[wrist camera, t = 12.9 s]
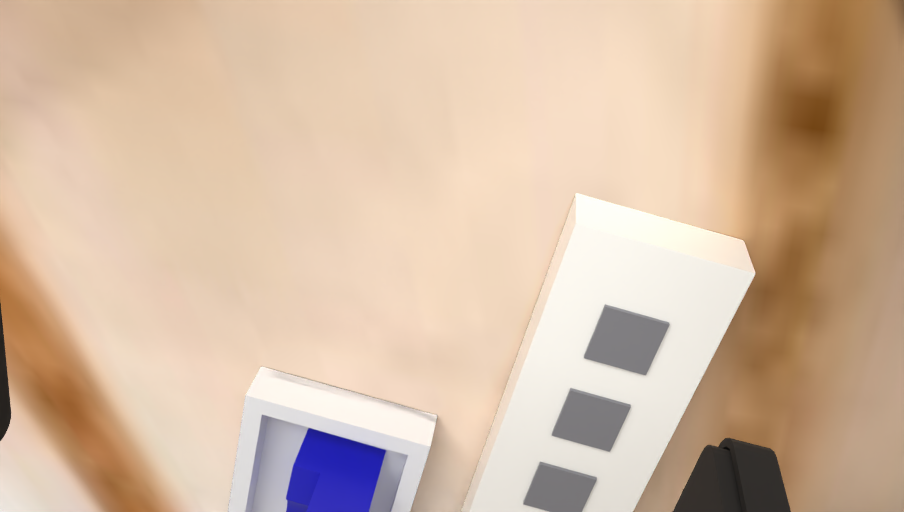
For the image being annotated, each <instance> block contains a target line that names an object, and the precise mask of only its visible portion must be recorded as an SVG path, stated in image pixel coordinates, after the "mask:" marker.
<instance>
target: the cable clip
mask: <svg viewBox="0 0 904 512" xmlns="http://www.w3.org/2000/svg"><path fill="white" fill-rule="evenodd" d="M385 452H386V450H384V449H381V448H377V447H374V446H370V445H367V444H363V443H360V442H356V441H353V440H349V439H346V438H343V437H339V436H336V435H332V434H329V433H325V432H322V431H318V430H315V429H311V428H308V430H307V433H306V435H305V438H304V440H303V443H302V445H301V447H300V450H299V452H298V455H297V457H296V460H295V462H294V465H293V468H292V473H291V477H290V482H289V486H288V491H287V495H286V500H287V509H286V512H369V509H370V506H371V502H372V499H373V495H374V491H375V488H376V484H377V481H378V477H379V474H380V470H381V467H382V463H383V460H384V456H385Z"/></svg>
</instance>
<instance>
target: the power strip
mask: <svg viewBox="0 0 904 512" xmlns="http://www.w3.org/2000/svg"><path fill="white" fill-rule="evenodd" d="M755 274H756V273H755V271H754V268H753V265H752V262H751V259H750V257H749V254H748V251H747V248H746V245H745V243H744V240H741V239H737V238H734V237H730V236H727V235H723V234H720V233H716V232H712V231H709V230H705V229H702V228H698V227H695V226H691V225H688V224H684V223H681V222H677V221H674V220H670V219H666V218H663V217H659V216H656V215H652V214H649V213H645V212H642V211H638V210H635V209H631V208H628V207H624V206H620V205H617V204H613V203H610V202H606V201H603V200H599V199H596V198H592V197H589V196H585V195H582V194H578V193H576V194H575V197H574V200H573V203H572V205H571V208H570V211H569V214H568V217H567V219H566V222H565V225H564V228H563V230H562V233H561V236H560V239H559V241H558V244H557V247H556V250H555V252H554V255H553V258H552V261H551V263H550V266H549V269H548V272H547V275H546V277H545V280H544V283H543V286H542V288H541V291H540V294H539V297H538V299H537V302H536V305H535V308H534V310H533V313H532V316H531V319H530V322H529V324H528V327H527V330H526V333H525V335H524V338H523V341H522V344H521V346H520V349H519V352H518V355H517V357H516V360H515V363H514V366H513V369H512V371H511V374H510V377H509V380H508V382H507V385H506V388H505V391H504V393H503V396H502V399H501V402H500V404H499V407H498V410H497V413H496V415H495V418H494V421H493V424H492V427H491V429H490V432H489V435H488V438H487V440H486V443H485V446H484V449H483V451H482V454H481V457H480V460H479V462H478V465H477V468H476V471H475V474H474V476H473V479H472V482H471V485H470V487H469V490H468V493H467V496H466V498H465V501H464V504H463V507H462V509H461V512H633V510H634V509H635V507H636V505H637V503H638V501H639V499H640V497H641V495H642V493H643V491H644V489H645V487H646V485H647V483H648V481H649V479H650V477H651V476H652V474H653V472H654V470H655V468H656V466H657V464H658V462H659V460H660V458H661V456H662V454H663V452H664V450H665V448H666V446H667V445H668V443H669V441H670V439H671V437H672V435H673V433H674V431H675V429H676V427H677V425H678V423H679V421H680V419H681V417H682V415H683V413H684V412H685V410H686V408H687V406H688V404H689V402H690V400H691V398H692V396H693V394H694V392H695V390H696V388H697V386H698V384H699V382H700V380H701V379H702V377H703V375H704V373H705V371H706V369H707V367H708V365H709V363H710V361H711V359H712V357H713V355H714V353H715V351H716V349H717V347H718V346H719V344H720V342H721V340H722V338H723V336H724V334H725V332H726V330H727V328H728V326H729V324H730V322H731V320H732V318H733V316H734V315H735V313H736V311H737V309H738V307H739V305H740V303H741V301H742V299H743V297H744V295H745V293H746V291H747V289H748V287H749V285H750V283H751V282H752V280H753V278H754V276H755Z"/></svg>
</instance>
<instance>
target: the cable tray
mask: <svg viewBox="0 0 904 512" xmlns="http://www.w3.org/2000/svg"><path fill="white" fill-rule="evenodd" d="M436 420H437V415H434V414H431V413H427V412H423V411H420V410H416V409H413V408H409V407H406V406H402V405H398V404H395V403H391V402H388V401H384V400H380V399H377V398H373V397H370V396H366V395H363V394H359V393H355V392H352V391H348V390H345V389H341V388H337V387H334V386H330V385H327V384H323V383H320V382H316V381H312V380H309V379H305V378H302V377H298V376H294V375H291V374H287V373H284V372H280V371H277V370H273V369H269V368H266V367H262V366H261V367H260V369H259V371H258V373H257V375H256V377H255V379H254V381H253V382H252V384H251V386H250V388H249V390H248V392H247V394H246V396H245V403H244V409H243V416H242V422H241V429H240V435H239V442H238V448H237V455H236V461H235V468H234V474H233V481H232V487H231V494H230V500H229V506H228V512H286V509H287V500H286V495H287V491H288V486H289V482H290V477H291V473H292V468H293V465H294V462H295V460H296V457H297V455H298V452H299V450H300V447H301V445H302V443H303V440H304V438H305V435H306V433H307V430H308V428H311V429H315V430H318V431H322V432H325V433H329V434H332V435H336V436H339V437H343V438H346V439H349V440H353V441H356V442H360V443H363V444H367V445H370V446H374V447H377V448H381V449H384V450H386V452H385V456H384V460H383V463H382V467H381V470H380V474H379V477H378V481H377V484H376V488H375V491H374V495H373V499H372V502H371V506H370V509H369V512H410V510H411V507H412V504H413V501H414V498H415V495H416V491H417V488H418V485H419V482H420V479H421V476H422V472H423V469H424V466H425V463H426V460H427V457H428V453H429V450H430V447H431V443H432V438H433V434H434V429H435V424H436Z"/></svg>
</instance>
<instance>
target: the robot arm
mask: <svg viewBox="0 0 904 512" xmlns="http://www.w3.org/2000/svg"><path fill="white" fill-rule="evenodd" d="M10 419H11V407H10V397H9V386H8V376H7V366H6V355H5V345H4V335H3V325H2V314H1V304H0V441H1V440H2V438H3V437H4V435H5V433H6V431H7V429H8V426H9V424H10ZM673 512H791V511H790V507H789V503H788V499H787V495H786V492H785V488H784V484H783V480H782V476H781V472H780V468H779V465H778V461H777V457H776V455H775V453H774V451H773V450H771V449H770V448H766V447H762V446H758V445H754V444H750V443H746V442H742V441H739V440H735V439H731V438H725V439H724V440H723V441H722V442H721V443H720V445H719V447H715V446H712V445H707V446H706V447H705V448H704V450H703V451H702V453H701V455H700V457H699V459H698V461H697V463H696V465H695V468H694V470H693V472H692V474H691V476H690V478H689V480H688V482H687V484H686V486H685V488H684V490H683V492H682V494H681V496H680V498H679V500H678V502H677V504H676V507H675V509H674V511H673Z"/></svg>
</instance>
